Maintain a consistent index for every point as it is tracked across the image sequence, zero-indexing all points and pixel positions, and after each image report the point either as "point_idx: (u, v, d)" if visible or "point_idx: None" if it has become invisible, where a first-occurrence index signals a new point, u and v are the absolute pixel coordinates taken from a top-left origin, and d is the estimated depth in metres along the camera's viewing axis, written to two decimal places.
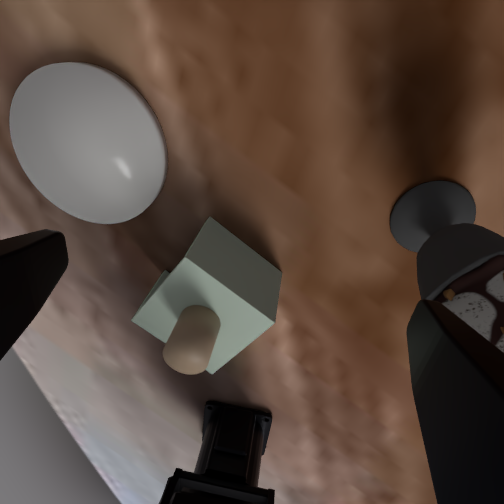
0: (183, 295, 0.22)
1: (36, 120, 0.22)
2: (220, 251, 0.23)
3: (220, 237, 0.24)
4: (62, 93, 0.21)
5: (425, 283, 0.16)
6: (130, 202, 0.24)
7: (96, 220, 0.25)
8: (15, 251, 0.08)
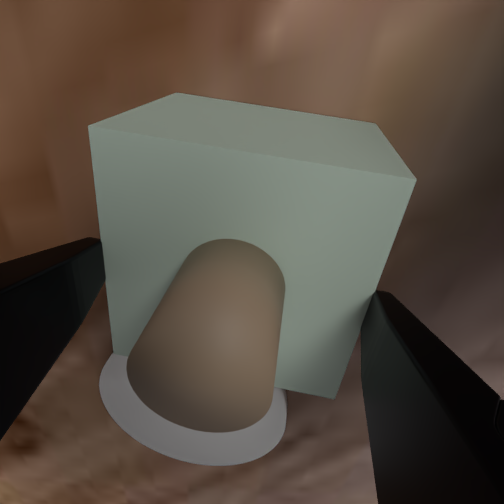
0: None
1: (194, 447, 0.21)
2: None
3: None
4: (150, 430, 0.20)
5: None
6: None
7: None
8: (66, 261, 0.07)
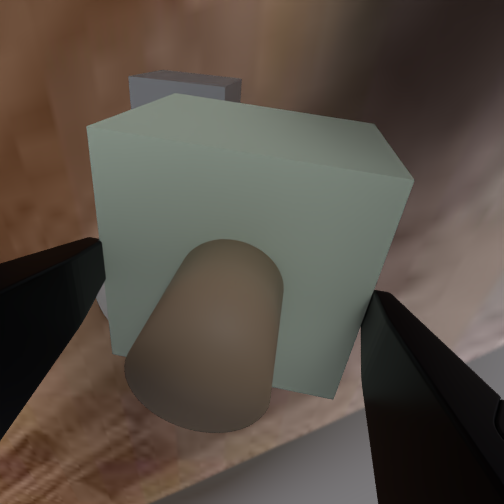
0: None
1: None
2: None
3: None
4: None
5: None
6: None
7: None
8: (66, 261, 0.07)
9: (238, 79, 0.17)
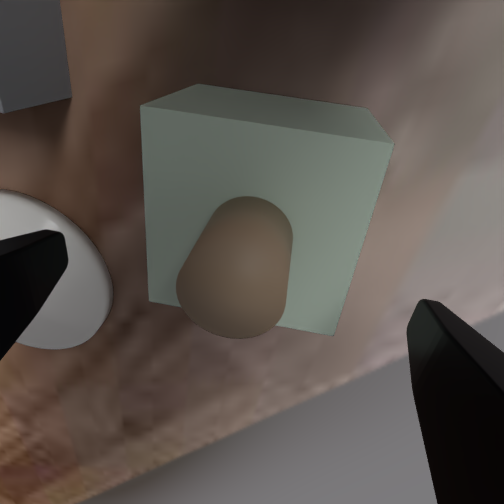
0: None
1: (34, 328, 0.21)
2: None
3: None
4: None
5: None
6: (19, 222, 0.18)
7: (79, 254, 0.18)
8: (15, 251, 0.08)
9: None
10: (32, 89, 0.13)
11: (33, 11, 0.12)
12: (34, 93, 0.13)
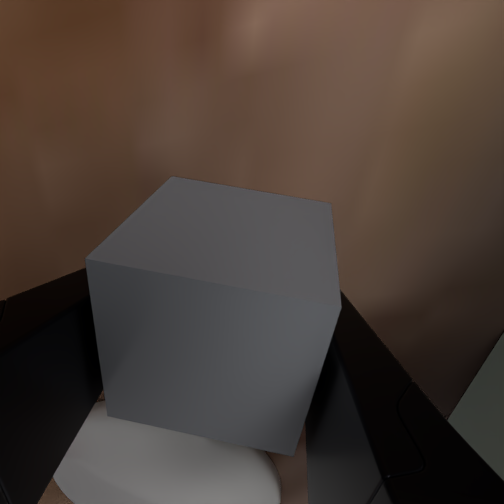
0: None
1: None
2: None
3: None
4: None
5: None
6: (187, 449, 0.13)
7: (261, 484, 0.14)
8: None
9: (329, 213, 0.08)
10: None
11: None
12: None
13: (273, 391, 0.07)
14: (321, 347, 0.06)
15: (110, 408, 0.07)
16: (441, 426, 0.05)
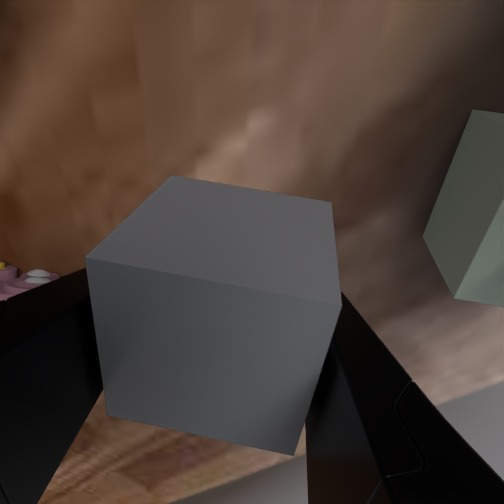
0: None
1: None
2: (449, 232, 0.16)
3: (438, 226, 0.18)
4: None
5: None
6: None
7: None
8: None
9: (329, 212, 0.08)
10: None
11: None
12: None
13: (273, 390, 0.06)
14: (321, 346, 0.06)
15: (110, 407, 0.07)
16: (441, 426, 0.05)
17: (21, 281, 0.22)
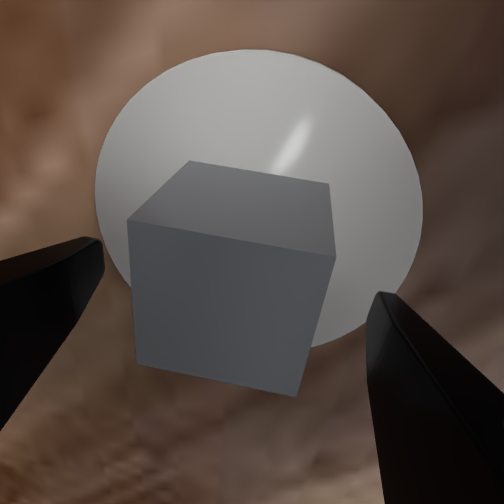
0: None
1: None
2: None
3: None
4: None
5: None
6: (307, 107, 0.09)
7: (407, 173, 0.10)
8: (60, 260, 0.07)
9: (327, 191, 0.09)
10: None
11: None
12: None
13: (279, 335, 0.08)
14: (320, 294, 0.07)
15: (139, 356, 0.09)
16: None
17: None
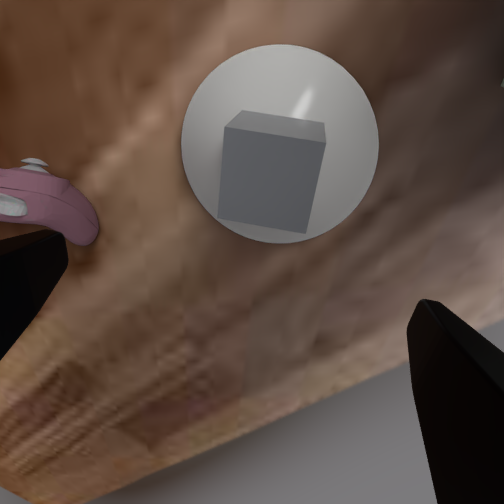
0: None
1: None
2: None
3: None
4: None
5: None
6: (311, 76, 0.16)
7: (368, 115, 0.17)
8: (15, 251, 0.08)
9: (323, 125, 0.17)
10: None
11: None
12: None
13: (298, 192, 0.15)
14: (318, 164, 0.14)
15: (219, 212, 0.16)
16: None
17: (14, 168, 0.18)
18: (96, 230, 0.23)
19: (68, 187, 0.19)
